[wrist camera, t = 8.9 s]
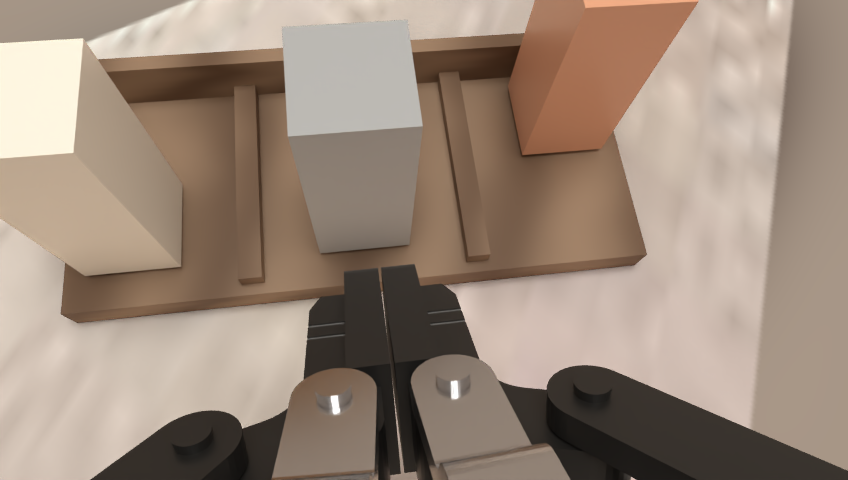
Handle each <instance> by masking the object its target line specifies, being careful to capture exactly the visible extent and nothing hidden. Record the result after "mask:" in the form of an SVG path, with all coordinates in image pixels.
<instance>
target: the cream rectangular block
mask: <svg viewBox="0 0 848 480" xmlns="http://www.w3.org/2000/svg"><path fill="white" fill-rule="evenodd" d="M0 218H1V219H2V220H4V221H5V222H7V223H8V224H9V225H11V226H12V227H14V228H15V229H17V230H18V231H20V232H21V233H23V234H24V235H26V236H27V237H28V238H30V239H31V240H33V241H34V242H36V243H37V244H39V245H40V246H42V247H43V248H45V249H46V250H48V251H49V252H50V253H52V254H53V255H55V256H56V257H58V258H59V259H61V260H62V261H64V262H65V263H67V264H68V265H69V266H71V267H72V268H74V269H75V270H77V271H78V272H80V273H81V274H83V275H84V276H91V275H101V274H111V273H122V272H132V271H142V270H153V269H163V268H174V267H181V248H182V183H181V182H180V180H179V179H178V177H177V176H176V174H175V173H174V171H173V170H172V168H171V167H170V165H169V164H168V162H167V161H166V160H165V158H164V157H163V155H162V154H161V152H160V151H159V149H158V148H157V146H156V145H155V143H154V142H153V140H152V139H151V137H150V136H149V134H148V133H147V132H146V130H145V129H144V127H143V126H142V124H141V123H140V121H139V120H138V118H137V117H136V115H135V114H134V112H133V111H132V109H131V108H130V106H129V105H128V104H127V102H126V101H125V99H124V98H123V96H122V95H121V93H120V92H119V90H118V89H117V87H116V86H115V84H114V83H113V81H112V80H111V78H110V77H109V76H108V74H107V73H106V71H105V70H104V68H103V67H102V65H101V64H100V62H99V61H98V59H97V58H96V56H95V55H94V53H93V52H92V50H91V49H90V48H89V46H88V45H87V43H86V42H85V41H84V39H68V40H67V39H66V40H49V41H33V42H15V43H0Z"/></svg>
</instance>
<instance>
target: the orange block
mask: <svg viewBox="0 0 848 480" xmlns="http://www.w3.org/2000/svg"><path fill="white" fill-rule="evenodd" d="M697 3H698V0H535V2H534V5H533V9H532V12H531V15H530V18H529V21H528V24H527V27H526V31H525V34H524V37H523V40H522V43H521V46H520V49H519V53H518V56H517V59H516V62H515V65H514V68H513V71H512V75H511V78H510V81H509V84H508V89H509V94H510V99H511V104H512V109H513V113H514V118H515V123H516V128H517V133H518V137H519V142H520V147H521V152H522V155H531V154H543V153H555V152H567V151H579V150H591V149H601V148H602V147H603V145H604V144H605V142H606V141H607V139H608V138H609V136H610V135H611V133H612V132H613V130H614V129H615V127H616V126H617V124H618V123H619V121H620V120H621V118H622V117H623V115H624V114H625V112H626V110H627V109H628V107H629V106H630V104H631V103H632V101H633V100H634V98H635V97H636V95H637V94H638V92H639V91H640V89H641V88H642V86H643V85H644V83H645V82H646V80H647V79H648V77H649V76H650V74H651V73H652V71H653V70H654V68H655V67H656V65H657V64H658V62H659V61H660V59H661V57H662V56H663V54H664V53H665V51H666V50H667V48H668V47H669V45H670V44H671V42H672V41H673V39H674V38H675V36H676V35H677V33H678V32H679V30H680V29H681V27H682V26H683V24H684V23H685V21H686V20H687V18H688V17H689V15H690V14H691V12H692V11H693V9H694V8H695V6H696V5H697Z"/></svg>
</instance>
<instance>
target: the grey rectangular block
mask: <svg viewBox="0 0 848 480" xmlns="http://www.w3.org/2000/svg"><path fill="white" fill-rule="evenodd" d="M282 38H283V56H284V74H285V93H286V111H287V129H288V139H289V142H290V146H291V150H292V153H293V157H294V160H295V164H296V168H297V171H298V175H299V179H300V182H301V186H302V189H303V193H304V197H305V200H306V204H307V207H308V211H309V215H310V218H311V222H312V226H313V229H314V233H315V236H316V240H317V244H318V247H319V251H320V253H329V252H340V251H350V250H360V249H371V248H381V247H391V246H402V245H409V244H410V235H411V226H412V217H413V208H414V200H415V191H416V182H417V173H418V164H419V156H420V147H421V138H422V129H423V124H422V117H421V110H420V103H419V96H418V90H417V83H416V76H415V69H414V62H413V55H412V48H411V41H410V35H409V28H408V21H407V20H394V21H376V22H359V23H342V24H325V25H308V26H290V27H282Z"/></svg>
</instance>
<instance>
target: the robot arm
mask: <svg viewBox="0 0 848 480" xmlns="http://www.w3.org/2000/svg"><path fill="white" fill-rule="evenodd" d="M381 277H382V287H383V298H384V309H385V318H384V310H383V302H382V295H381V287H380V280H379V272H378V268H371V269H362V270H352V271H344V294H342V295H333V296H324V297H320V299H319V300H318V301H317V302H316V303H315V305H314V306H313V307H312V308H311V310H310V312H309V324H308V326H309V328H308V335H307V339H308V340H307V347H306V358H305V370H304V380H303V381H302V382H300V383H299V384H298V385H297V386H296V387H295V389H294V390H293V392H292V394H291V397H290V402H289V406H288V409H286V410H285V411H283V412H282V413H280V414H279V415H277V416H275V417H273V418H271V419H268V420H266V421H263V422H260V423H258V424H255V425H252V426H249V427H246V428H243V429H242V427H241V424H240V422H239V420H238V419H237V418H235V417H234V416H233V415H231V414H229V413H226V412H221V411H201V412H196V413H192V414H188V415H185V416H183V417H180V418H178V419H176V420H174V421H172V422H170V423H168V424H167V425H165V426H164V427H162V428H161V429H160V430H158V431H157V432H155V433H154V434H153V435H151V436H150V437H149V438H147V439H146V440H144V441H143V442H142V443H140V444H139V445H138V446H136V447H135V448H133V449H132V450H131V451H129V452H128V453H126V454H125V455H124V456H122V457H121V458H120V459H118V460H117V461H115V462H114V463H113V464H111V465H110V466H109V467H107V468H106V469H104V470H103V471H102V472H100V473H99V474H98V475H96V476H95V477H93V478H92V479H91V480H390V475H395V474H401V471H400V460H399V449H398V438H397V427H396V417H395V406H394V396H395V404H396V412H397V419H398V427H399V434H400V442H401V450H402V457H403V465H404V472H405V473H408V472H415V471H417V476H418V480H631V477H633V478H635V479H636V480H848V471H847V470H844V469H842V468H840V467H837V466H835V465H833V464H830V463H828V462H825V461H823V460H821V459H819V458H816V457H814V456H811V455H809V454H807V453H805V452H802V451H800V450H798V449H795V448H793V447H790V446H788V445H786V444H783V443H781V442H779V441H777V440H774V439H772V438H769V437H767V436H765V435H762V434H760V433H757V432H755V431H753V430H751V429H748V428H746V427H744V426H741V425H739V424H737V423H734V422H732V421H730V420H727V419H725V418H723V417H720V416H718V415H716V414H713V413H711V412H709V411H706V410H704V409H702V408H699V407H697V406H695V405H692V404H690V403H688V402H685V401H683V400H681V399H678V398H676V397H674V396H671V395H669V394H667V393H664V392H662V391H659V390H657V389H655V388H652V387H650V386H648V385H645V384H643V383H641V382H638V381H636V380H634V379H631V378H629V377H627V376H624V375H622V374H620V373H617V372H615V371H612V370H610V369H607V368H603V367H598V366H588V365H582V366H573V367H569V368H565V369H563V370H560V371H559V372H557V373H556V374H554V375H553V376H552V377H551V378H550V380H549V382H548V385H547V390H542V389H532V388H523V387H516V386H512V385H509V384H506V383H503V382H501V381H499V380H498V379H497V377H496V375H495V373H494V372H493V370H492V369H491V367H489V366H488V365H487V364H486V363H485V362H483V361H481V360H479V357H478V354H477V352H476V349H475V346H474V343H473V341H472V338H471V335H470V332H469V330H468V327H467V324H466V322H465V319H464V316H463V313H462V311H461V308H460V305H459V302H458V299H457V297H456V294H455V293H453V292H452V291H451V290H449V289H448V288H447V287H445V286H444V285H443V284H433V285H424V286H420V282H419V279H418V275H417V271H416V267H415V264H408V265H399V266H389V267H381ZM385 320H386V325H385ZM386 330H387V333H386ZM392 381H393V384H392ZM393 389H394V395H393Z"/></svg>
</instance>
